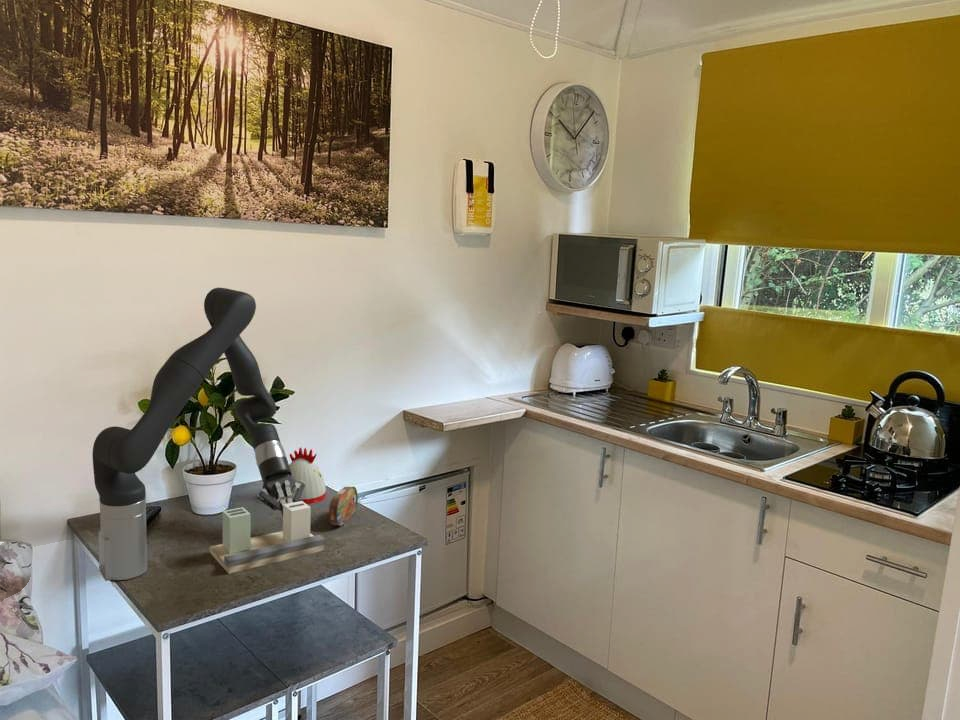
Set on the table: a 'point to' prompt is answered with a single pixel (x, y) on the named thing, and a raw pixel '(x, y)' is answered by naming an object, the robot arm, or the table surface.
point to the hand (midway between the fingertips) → (291, 522)
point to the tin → (343, 505)
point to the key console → (266, 551)
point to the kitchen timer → (307, 477)
